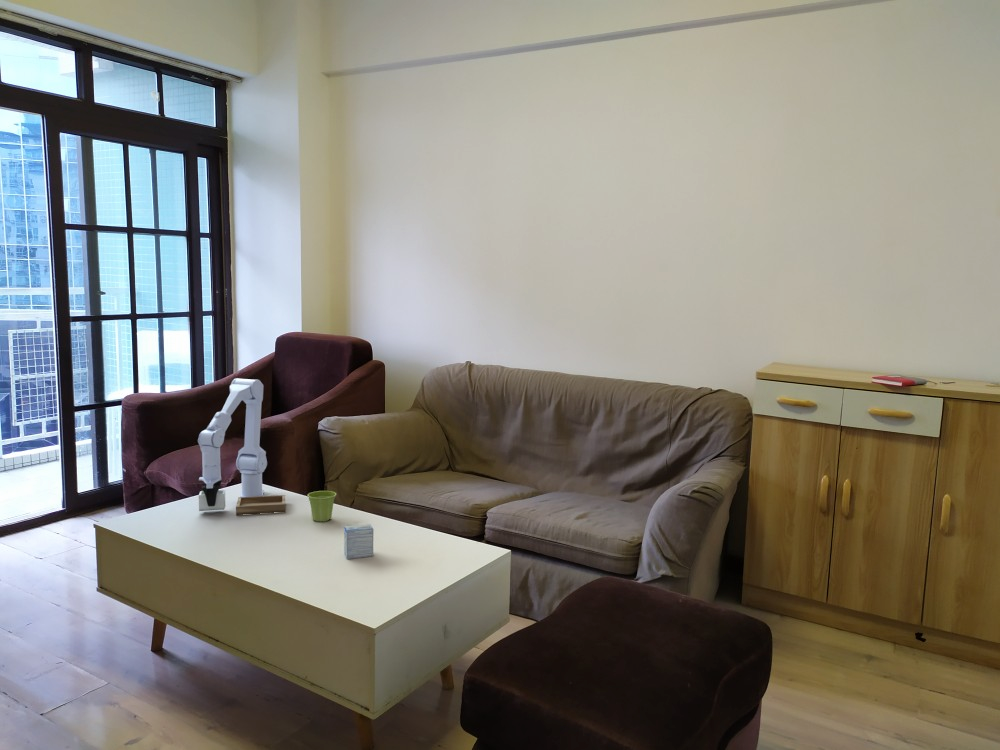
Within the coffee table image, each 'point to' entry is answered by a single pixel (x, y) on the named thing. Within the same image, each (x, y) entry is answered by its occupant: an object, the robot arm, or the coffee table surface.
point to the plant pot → (321, 504)
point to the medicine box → (358, 541)
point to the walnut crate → (260, 504)
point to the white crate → (218, 505)
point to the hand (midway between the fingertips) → (212, 503)
